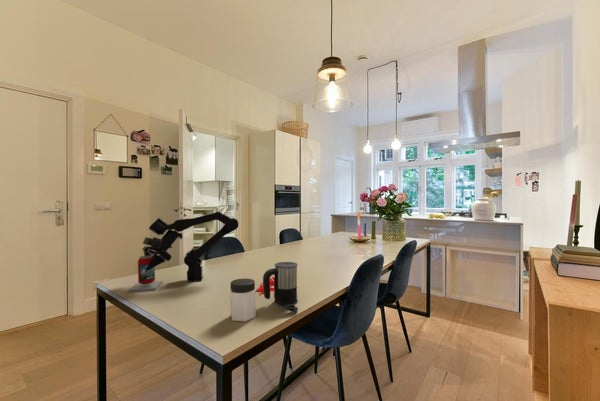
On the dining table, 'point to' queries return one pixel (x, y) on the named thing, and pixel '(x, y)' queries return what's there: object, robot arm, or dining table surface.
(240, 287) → the jar
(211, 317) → the dining table surface
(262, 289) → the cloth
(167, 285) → the dining table surface
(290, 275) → the milk frother
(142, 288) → the trivet
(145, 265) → the beverage can
